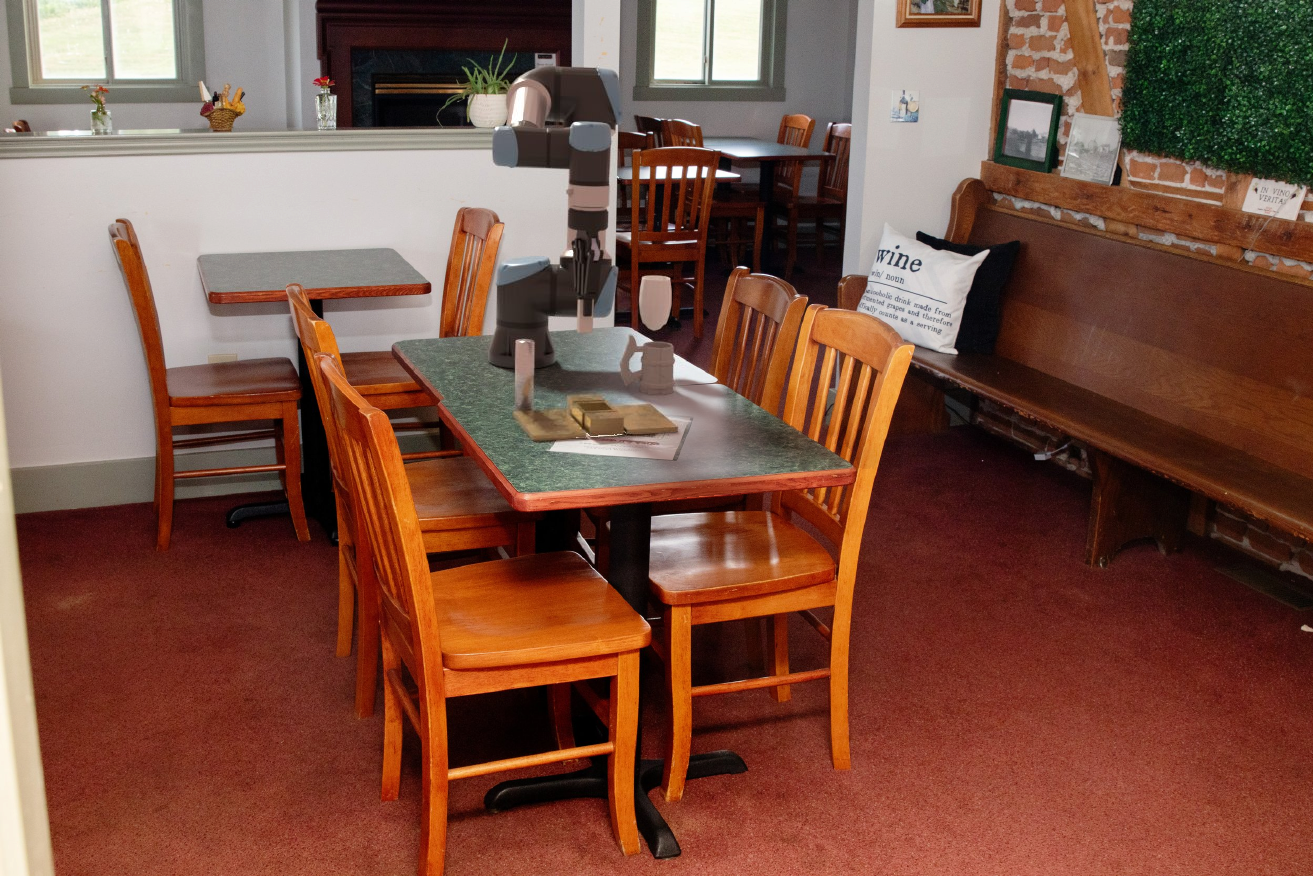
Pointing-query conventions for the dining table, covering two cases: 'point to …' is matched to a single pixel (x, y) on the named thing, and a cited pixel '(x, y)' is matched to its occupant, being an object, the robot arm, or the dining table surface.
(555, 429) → the fixed leaf
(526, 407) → the pin
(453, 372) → the dining table surface
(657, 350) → the mug
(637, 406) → the hinge flap with knuckles
